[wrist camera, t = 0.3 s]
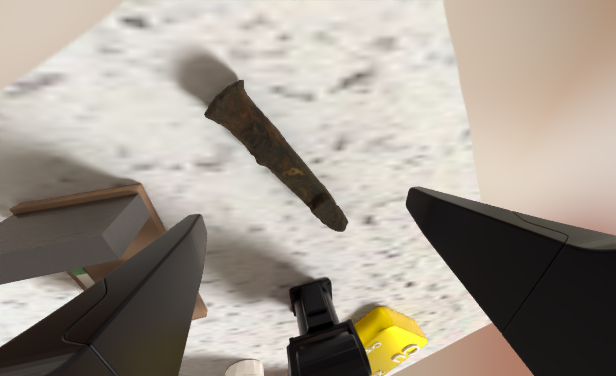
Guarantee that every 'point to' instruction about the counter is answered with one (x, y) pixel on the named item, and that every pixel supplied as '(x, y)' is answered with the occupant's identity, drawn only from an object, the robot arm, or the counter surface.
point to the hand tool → (273, 152)
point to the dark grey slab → (69, 236)
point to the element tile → (388, 338)
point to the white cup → (246, 368)
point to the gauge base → (143, 238)
